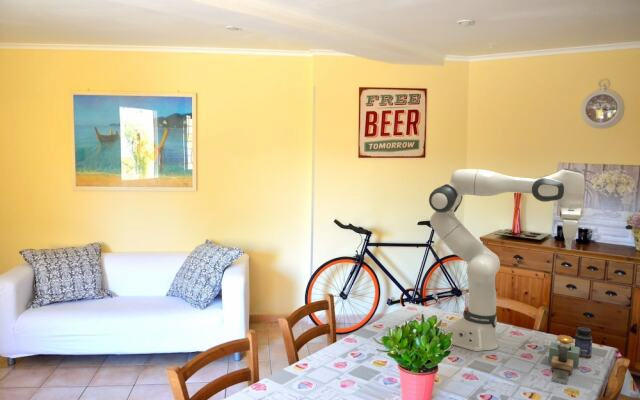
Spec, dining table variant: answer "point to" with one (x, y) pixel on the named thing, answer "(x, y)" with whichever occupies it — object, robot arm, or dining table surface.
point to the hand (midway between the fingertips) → (567, 247)
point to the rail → (560, 375)
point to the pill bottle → (584, 342)
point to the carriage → (562, 360)
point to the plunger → (565, 341)
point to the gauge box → (572, 354)
